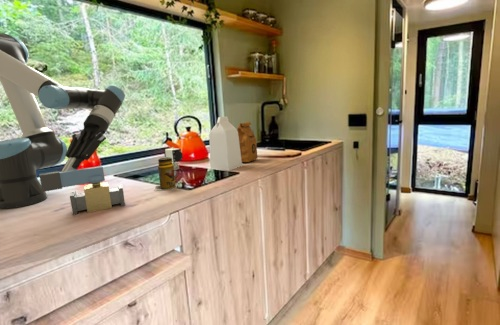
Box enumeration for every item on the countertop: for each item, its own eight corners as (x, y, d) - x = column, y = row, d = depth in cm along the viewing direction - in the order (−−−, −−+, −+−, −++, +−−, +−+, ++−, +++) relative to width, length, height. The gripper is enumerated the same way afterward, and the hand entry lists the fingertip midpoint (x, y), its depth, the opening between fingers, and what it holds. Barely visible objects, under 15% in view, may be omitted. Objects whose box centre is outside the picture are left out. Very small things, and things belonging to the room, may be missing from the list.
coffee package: (260, 159, 169) (258, 121, 165) (248, 164, 159) (246, 123, 155) (246, 159, 175) (243, 121, 171) (233, 163, 165) (231, 123, 161)
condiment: (176, 188, 117) (173, 158, 114) (154, 191, 115) (150, 161, 113) (176, 184, 124) (173, 156, 122) (155, 186, 122) (152, 158, 120)
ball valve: (72, 215, 92) (68, 188, 90) (74, 209, 98) (70, 184, 97) (125, 205, 98) (121, 180, 97) (123, 200, 105) (120, 176, 103)
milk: (228, 170, 145) (224, 117, 140) (210, 169, 151) (206, 118, 146) (242, 165, 155) (238, 115, 150) (224, 164, 161) (220, 116, 156)
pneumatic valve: (176, 171, 150) (173, 148, 148) (165, 169, 159) (163, 146, 157) (185, 169, 154) (183, 146, 152) (174, 167, 162) (172, 145, 160)
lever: (105, 181, 96) (103, 166, 95) (42, 192, 87) (39, 176, 86) (103, 179, 100) (100, 164, 99) (42, 189, 91) (39, 173, 90)
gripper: (76, 114, 106) (40, 170, 93) (107, 112, 101) (72, 170, 89) (91, 128, 112) (58, 182, 99) (120, 126, 107) (89, 183, 95)
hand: (65, 176), depth 94 cm, fingers closed
